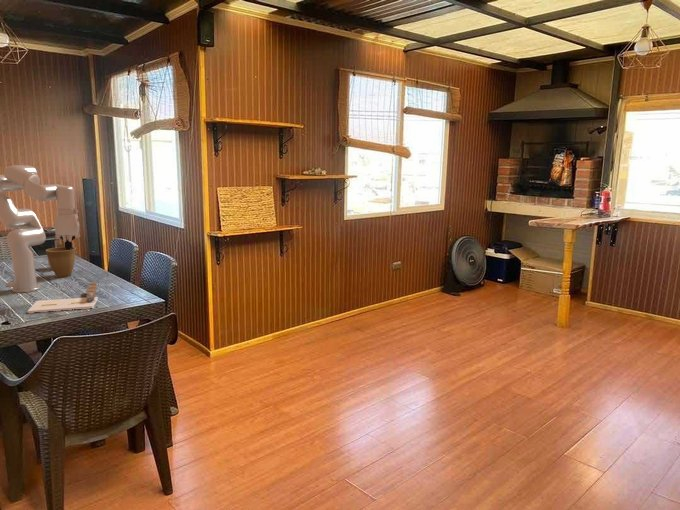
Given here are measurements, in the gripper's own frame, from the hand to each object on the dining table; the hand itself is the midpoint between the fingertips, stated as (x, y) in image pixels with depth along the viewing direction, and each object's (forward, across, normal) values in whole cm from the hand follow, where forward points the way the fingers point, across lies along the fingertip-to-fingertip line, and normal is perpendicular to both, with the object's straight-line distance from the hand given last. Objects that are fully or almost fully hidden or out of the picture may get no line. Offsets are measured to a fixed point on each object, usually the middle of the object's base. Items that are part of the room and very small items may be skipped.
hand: (68, 249), depth 239 cm
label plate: (+23, 0, +16) cm, 29 cm away
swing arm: (+22, -10, +6) cm, 24 cm away
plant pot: (+26, +14, -46) cm, 55 cm away
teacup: (+27, +21, -67) cm, 75 cm away
